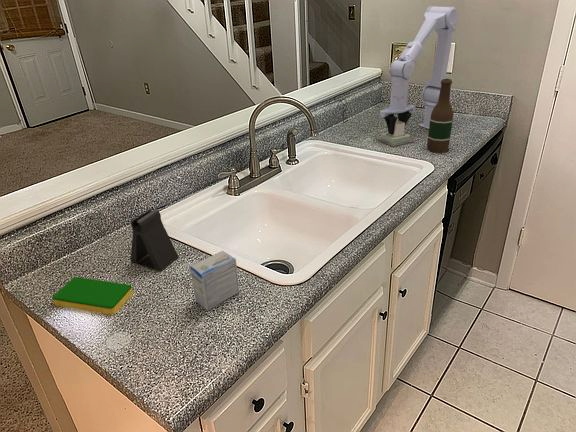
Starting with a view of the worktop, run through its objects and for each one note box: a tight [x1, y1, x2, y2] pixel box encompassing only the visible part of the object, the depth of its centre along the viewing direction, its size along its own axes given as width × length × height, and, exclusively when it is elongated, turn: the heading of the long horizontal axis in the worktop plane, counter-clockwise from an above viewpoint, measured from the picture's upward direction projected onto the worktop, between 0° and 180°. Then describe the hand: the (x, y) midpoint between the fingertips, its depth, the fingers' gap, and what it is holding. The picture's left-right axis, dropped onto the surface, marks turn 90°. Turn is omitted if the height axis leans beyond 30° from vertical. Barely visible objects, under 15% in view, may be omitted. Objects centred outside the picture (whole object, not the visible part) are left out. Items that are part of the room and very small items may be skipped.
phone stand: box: [130, 207, 179, 273], centre depth 100 cm, size 9×6×12 cm, turn 63°
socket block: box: [375, 131, 416, 148], centre depth 166 cm, size 10×10×2 cm
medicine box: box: [189, 250, 240, 311], centre depth 88 cm, size 8×4×9 cm, turn 133°
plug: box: [388, 119, 406, 138], centre depth 165 cm, size 4×4×6 cm
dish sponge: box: [52, 276, 134, 316], centre depth 91 cm, size 7×14×2 cm, turn 75°
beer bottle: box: [426, 78, 454, 154], centre depth 152 cm, size 8×8×24 cm
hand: (395, 132), depth 165 cm, fingers closed on plug, 4 cm apart
